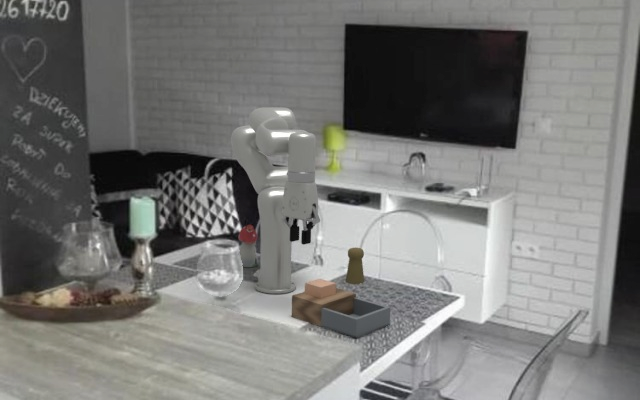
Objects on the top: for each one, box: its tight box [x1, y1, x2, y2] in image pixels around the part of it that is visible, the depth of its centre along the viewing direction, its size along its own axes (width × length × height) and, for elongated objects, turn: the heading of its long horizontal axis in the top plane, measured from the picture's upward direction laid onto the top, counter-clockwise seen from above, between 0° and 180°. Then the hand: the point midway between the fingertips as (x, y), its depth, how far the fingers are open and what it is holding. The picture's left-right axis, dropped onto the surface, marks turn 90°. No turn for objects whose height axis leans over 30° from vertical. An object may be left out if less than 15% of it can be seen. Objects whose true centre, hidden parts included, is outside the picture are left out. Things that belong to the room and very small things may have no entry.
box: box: [320, 296, 391, 339], centre depth 189 cm, size 12×14×5 cm
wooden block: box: [291, 287, 357, 327], centre depth 197 cm, size 11×14×6 cm
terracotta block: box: [304, 278, 337, 298], centre depth 197 cm, size 6×6×3 cm
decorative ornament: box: [238, 224, 258, 268], centre depth 246 cm, size 9×6×15 cm
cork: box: [345, 247, 365, 285], centre depth 230 cm, size 6×6×11 cm
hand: (300, 241), depth 200 cm, fingers open, 3 cm apart
